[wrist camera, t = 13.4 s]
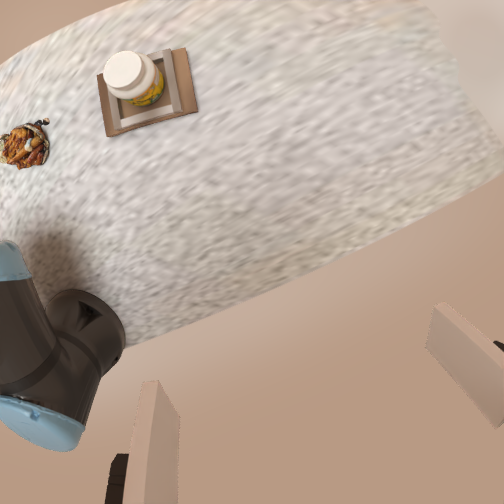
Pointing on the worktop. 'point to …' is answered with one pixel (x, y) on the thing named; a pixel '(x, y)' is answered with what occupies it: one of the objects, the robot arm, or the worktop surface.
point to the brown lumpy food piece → (24, 145)
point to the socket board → (165, 107)
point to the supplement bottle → (133, 78)
